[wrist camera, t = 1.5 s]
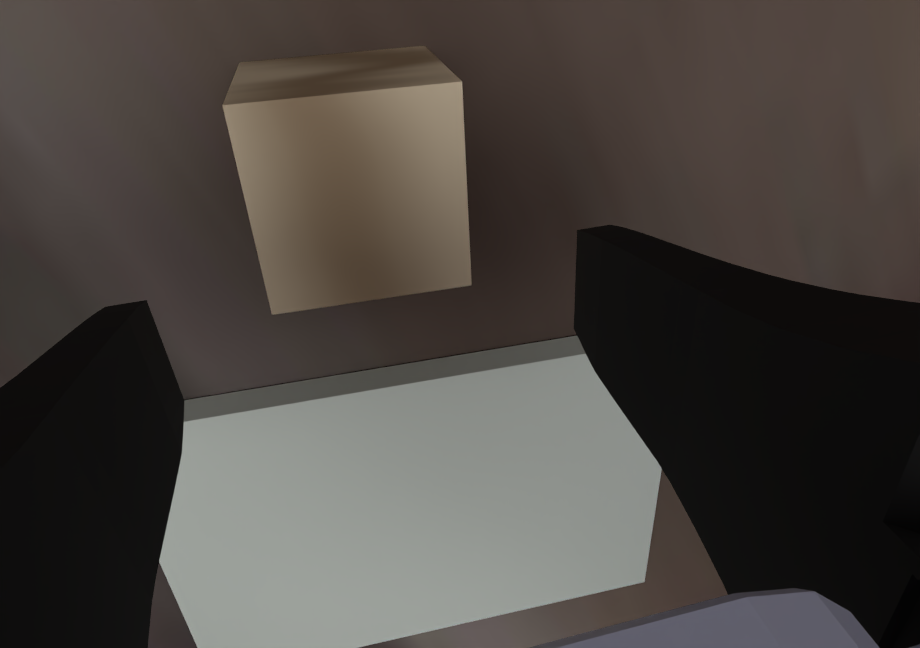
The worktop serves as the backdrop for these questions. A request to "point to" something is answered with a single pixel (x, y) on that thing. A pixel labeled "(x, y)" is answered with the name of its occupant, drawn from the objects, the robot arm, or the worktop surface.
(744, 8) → the worktop surface
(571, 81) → the worktop surface
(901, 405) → the robot arm
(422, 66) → the maple cube
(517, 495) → the sage board
